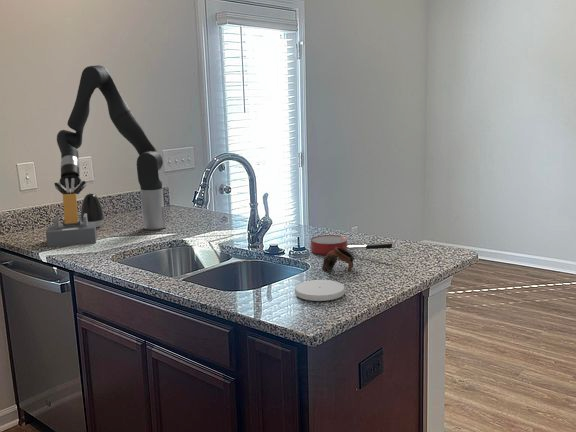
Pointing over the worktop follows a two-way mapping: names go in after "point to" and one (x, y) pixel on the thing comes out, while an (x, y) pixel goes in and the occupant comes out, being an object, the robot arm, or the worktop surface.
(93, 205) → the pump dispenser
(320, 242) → the frying pan
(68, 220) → the lever
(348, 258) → the brown arched piece
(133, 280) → the worktop surface
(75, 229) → the switch box
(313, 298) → the plastic lid
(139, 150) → the robot arm
